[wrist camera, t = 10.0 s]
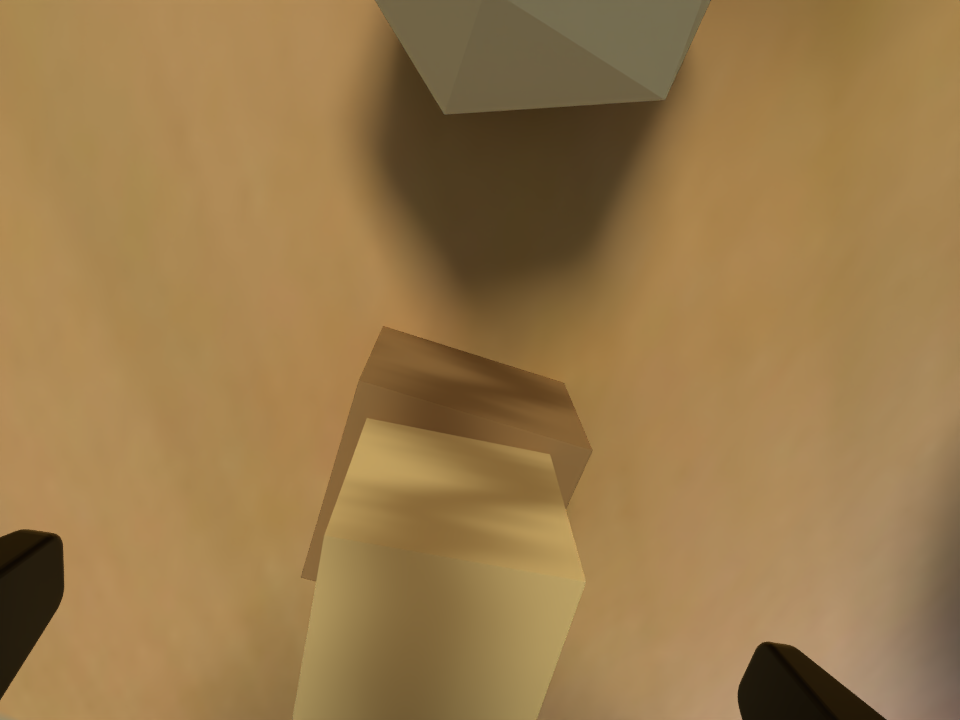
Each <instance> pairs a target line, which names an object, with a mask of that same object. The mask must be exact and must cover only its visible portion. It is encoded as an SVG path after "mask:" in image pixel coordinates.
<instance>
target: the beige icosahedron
mask: <svg viewBox="0 0 960 720" xmlns="http://www.w3.org/2000/svg"><path fill="white" fill-rule="evenodd" d="M375 1H376V3H377V4H378V6H379V8H380V9H381V11H382V13H383V14H384V16H385V18H386V19H387V21H388V23H389V24H390V26H391V28H392V29H393V31H394V33H395V34H396V36H397V38H398V39H399V41H400V42H401V44H402V46H403V47H404V49H405V51H406V52H407V54H408V56H409V57H410V59H411V61H412V62H413V64H414V66H415V67H416V69H417V71H418V72H419V74H420V75H421V77H422V79H423V80H424V82H425V84H426V85H427V87H428V89H429V90H430V92H431V94H432V95H433V97H434V99H435V100H436V102H437V104H438V105H439V107H440V108H441V110H442V112H443V113H444V115H446V114H461V113H476V112H491V111H506V110H522V109H537V108H552V107H567V106H582V105H597V104H612V103H627V102H642V101H657V100H665V99H666V97H667V95H668V92H669V90H670V88H671V86H672V84H673V82H674V79H675V77H676V75H677V73H678V71H679V69H680V66H681V64H682V62H683V60H684V58H685V55H686V53H687V51H688V49H689V47H690V45H691V42H692V40H693V38H694V36H695V34H696V32H697V29H698V27H699V25H700V23H701V21H702V18H703V16H704V14H705V12H706V10H707V8H708V5H709V3H710V1H711V0H375Z"/></svg>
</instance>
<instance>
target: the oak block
mask: <svg viewBox="0 0 960 720" xmlns="http://www.w3.org/2000/svg"><path fill="white" fill-rule="evenodd" d="M585 583H586V580H585V576H584V573H583V569H582V566H581V562H580V559H579V555H578V552H577V548H576V544H575V541H574V537H573V534H572V530H571V527H570V523H569V520H568V516H567V513H566V509H565V505H564V502H563V498H562V495H561V491H560V488H559V484H558V481H557V477H556V473H555V470H554V466H553V463H552V459H551V456H550V454H546V453H541V452H536V451H531V450H526V449H521V448H516V447H511V446H506V445H501V444H495V443H490V442H485V441H480V440H475V439H470V438H465V437H460V436H455V435H450V434H445V433H440V432H435V431H430V430H425V429H420V428H415V427H410V426H405V425H400V424H394V423H389V422H384V421H379V420H374V419H369V418H367V419H366V422H365V424H364V427H363V430H362V433H361V435H360V438H359V441H358V444H357V446H356V449H355V452H354V455H353V457H352V460H351V463H350V466H349V468H348V471H347V474H346V477H345V480H344V482H343V485H342V488H341V491H340V493H339V496H338V499H337V502H336V504H335V507H334V510H333V513H332V515H331V518H330V521H329V524H328V526H327V529H326V532H325V535H324V540H323V545H322V551H321V557H320V563H319V568H318V574H317V580H316V585H315V591H314V597H313V603H312V608H311V614H310V620H309V626H308V631H307V637H306V643H305V649H304V654H303V660H302V666H301V672H300V677H299V683H298V689H297V694H296V700H295V706H294V712H293V717H292V720H537V717H538V714H539V711H540V709H541V706H542V703H543V700H544V698H545V695H546V692H547V689H548V686H549V684H550V681H551V678H552V675H553V672H554V670H555V667H556V664H557V661H558V659H559V656H560V653H561V650H562V647H563V645H564V642H565V639H566V636H567V634H568V631H569V628H570V625H571V622H572V620H573V617H574V614H575V611H576V608H577V606H578V603H579V600H580V597H581V595H582V592H583V589H584V586H585Z"/></svg>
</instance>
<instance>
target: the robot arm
mask: <svg viewBox="0 0 960 720" xmlns="http://www.w3.org/2000/svg"><path fill="white" fill-rule="evenodd" d="M63 592H64V562H63V543H62V540H61V538H60V537H59V536H58V535H57V534H54V533H49V532H43V531H36V530H29V529H23V530H18V531H15V532H12V533H10V534H7V535H5V536H2V537H0V700H1V698H2V697H3V695H4V693H5V692H6V690H7V689H8V687H9V685H10V684H11V682H12V681H13V679H14V677H15V676H16V674H17V673H18V671H19V669H20V668H21V666H22V665H23V663H24V661H25V660H26V658H27V657H28V655H29V654H30V652H31V650H32V649H33V647H34V646H35V644H36V642H37V641H38V639H39V638H40V636H41V634H42V633H43V631H44V630H45V628H46V626H47V625H48V623H49V622H50V620H51V619H52V617H53V615H54V614H55V612H56V610H57V609H58V607H59V605H60V602H61V600H62V597H63ZM738 704H739V709H740V713H741V716H742V720H886V719H885V718H884V717H882V716H881V715H880V714H879V713H877V712H876V711H875V710H874V709H872V708H871V707H870V706H869V705H867V704H866V703H865V702H864V701H862V700H861V699H860V698H859V697H857V696H856V695H855V694H854V693H852V692H851V691H850V690H849V689H847V688H846V687H845V686H844V685H842V684H841V683H840V682H839V681H837V680H836V679H835V678H834V677H832V676H831V675H830V674H828V673H827V672H826V671H825V670H823V669H822V668H821V667H820V666H818V665H817V664H816V663H815V662H813V661H812V660H811V659H810V658H808V657H807V656H806V655H805V654H803V653H802V652H801V651H800V650H798V649H797V648H795V647H793V646H791V645H786V644H780V643H773V642H763V643H761V644H760V645H759V646H758V647H757V648H756V650H755V652H754V654H753V656H752V659H751V661H750V663H749V665H748V667H747V669H746V671H745V674H744V676H743V678H742V680H741V682H740V685H739V689H738Z"/></svg>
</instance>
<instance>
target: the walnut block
mask: <svg viewBox="0 0 960 720" xmlns="http://www.w3.org/2000/svg"><path fill="white" fill-rule="evenodd" d="M367 418H369V419H374V420H379V421H384V422H389V423H394V424H400V425H405V426H410V427H415V428H420V429H425V430H430V431H435V432H440V433H445V434H450V435H455V436H460V437H465V438H470V439H475V440H480V441H485V442H490V443H495V444H501V445H506V446H511V447H516V448H521V449H526V450H531V451H536V452H541V453H546V454H550V456H551V459H552V463H553V466H554V470H555V473H556V477H557V481H558V484H559V488H560V491H561V495H562V498H563V502H564V505H565V509H566V508H567V506H568V504H569V501H570V499H571V497H572V495H573V493H574V490H575V488H576V486H577V484H578V482H579V479H580V477H581V475H582V473H583V471H584V468H585V466H586V464H587V462H588V460H589V457H590V455H591V453H592V451H593V450H592V448H591V446H590V443H589V441H588V439H587V436H586V434H585V431H584V429H583V427H582V424H581V422H580V420H579V417H578V415H577V413H576V410H575V408H574V406H573V403H572V401H571V398H570V396H569V394H568V391H567V389H566V387H565V384H564V383H562V382H559V381H556V380H553V379H550V378H546V377H543V376H540V375H537V374H534V373H531V372H527V371H524V370H521V369H518V368H515V367H512V366H508V365H505V364H502V363H499V362H496V361H492V360H489V359H486V358H483V357H480V356H477V355H473V354H470V353H467V352H464V351H461V350H458V349H454V348H451V347H448V346H445V345H442V344H438V343H435V342H432V341H429V340H426V339H423V338H419V337H416V336H413V335H410V334H407V333H404V332H400V331H397V330H394V329H391V328H388V327H385V326H383V328H382V330H381V332H380V335H379V337H378V339H377V341H376V343H375V346H374V348H373V350H372V352H371V355H370V357H369V359H368V361H367V364H366V366H365V368H364V370H363V372H362V375H361V377H360V379H359V382H358V385H357V389H356V392H355V395H354V399H353V402H352V406H351V409H350V412H349V416H348V419H347V423H346V426H345V429H344V433H343V436H342V439H341V443H340V446H339V450H338V453H337V456H336V460H335V463H334V467H333V470H332V473H331V477H330V480H329V483H328V487H327V490H326V494H325V497H324V500H323V504H322V507H321V511H320V514H319V517H318V521H317V524H316V527H315V531H314V534H313V538H312V541H311V544H310V548H309V551H308V555H307V558H306V561H305V565H304V568H303V571H302V575H301V578H304V579H308V580H312V581H316V580H317V574H318V568H319V563H320V557H321V551H322V545H323V540H324V535H325V532H326V529H327V526H328V524H329V521H330V518H331V515H332V513H333V510H334V507H335V504H336V502H337V499H338V496H339V493H340V491H341V488H342V485H343V482H344V480H345V477H346V474H347V471H348V468H349V466H350V463H351V460H352V457H353V455H354V452H355V449H356V446H357V444H358V441H359V438H360V435H361V433H362V430H363V427H364V424H365V422H366V419H367Z"/></svg>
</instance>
